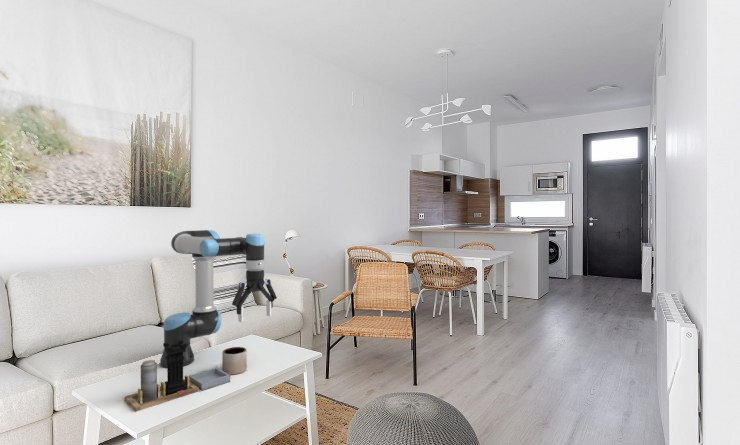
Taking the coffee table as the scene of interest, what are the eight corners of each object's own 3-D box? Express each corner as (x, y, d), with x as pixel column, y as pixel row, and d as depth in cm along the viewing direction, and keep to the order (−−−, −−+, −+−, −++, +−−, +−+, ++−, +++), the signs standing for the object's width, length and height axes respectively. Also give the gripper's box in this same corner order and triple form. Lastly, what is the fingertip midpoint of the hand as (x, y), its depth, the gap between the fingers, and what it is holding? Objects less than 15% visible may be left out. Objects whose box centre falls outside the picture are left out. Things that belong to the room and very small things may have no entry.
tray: (188, 382, 175) (188, 375, 175) (216, 374, 185) (216, 367, 185) (201, 391, 167) (201, 383, 167) (230, 381, 176) (230, 375, 176)
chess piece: (183, 386, 172) (182, 339, 171) (188, 392, 166) (188, 344, 165) (162, 391, 167) (162, 343, 166) (167, 398, 160) (166, 348, 160)
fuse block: (124, 400, 158) (123, 362, 158) (185, 382, 176) (185, 348, 175) (135, 411, 149) (135, 371, 149) (199, 391, 166) (198, 355, 166)
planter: (221, 376, 182) (221, 355, 182) (223, 367, 192) (223, 347, 192) (246, 374, 185) (246, 353, 185) (246, 365, 195) (246, 345, 195)
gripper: (232, 273, 162) (232, 326, 163) (284, 267, 181) (284, 314, 181) (223, 271, 168) (223, 322, 168) (274, 266, 186) (274, 312, 186)
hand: (255, 318), depth 175 cm, fingers open, 13 cm apart
